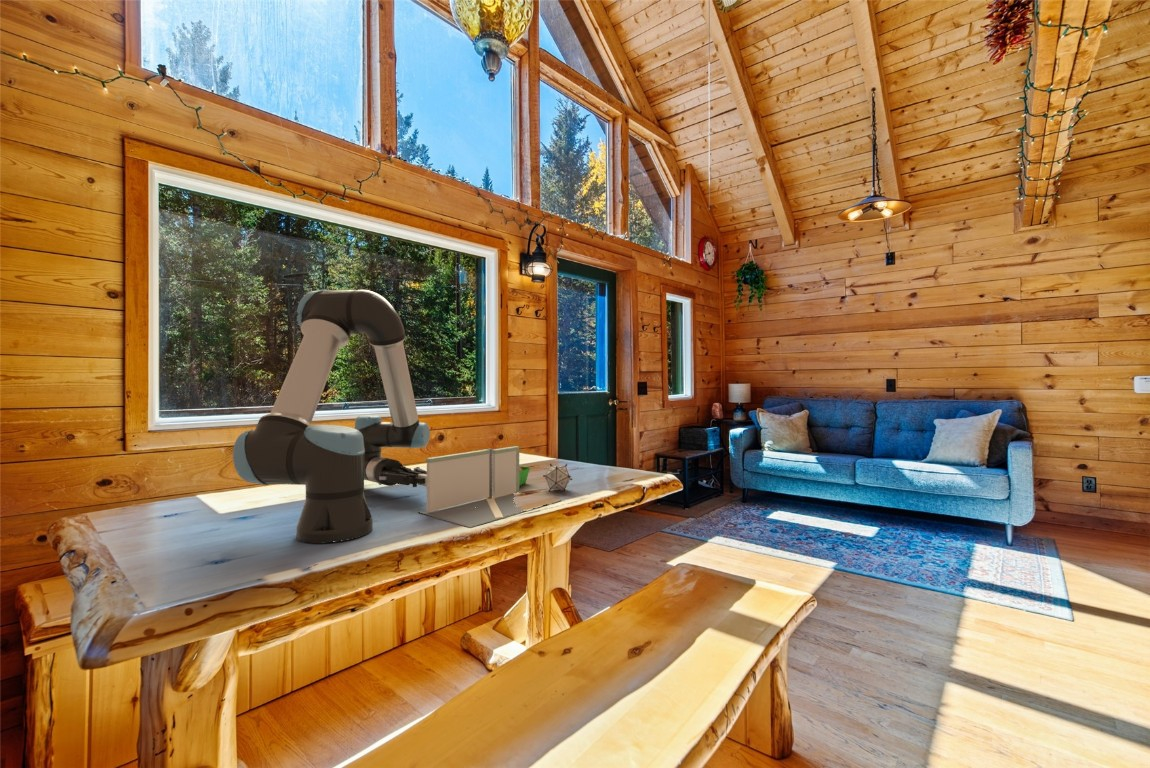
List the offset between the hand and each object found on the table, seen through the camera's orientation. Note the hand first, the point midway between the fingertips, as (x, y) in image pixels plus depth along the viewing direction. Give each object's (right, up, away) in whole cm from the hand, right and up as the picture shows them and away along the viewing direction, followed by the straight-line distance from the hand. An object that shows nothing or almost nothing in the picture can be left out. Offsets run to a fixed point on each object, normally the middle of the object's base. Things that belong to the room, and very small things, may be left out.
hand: (434, 482), depth 135 cm
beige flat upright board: (+7, -6, +1) cm, 9 cm away
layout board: (+15, -7, 0) cm, 17 cm away
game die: (+32, -6, +19) cm, 38 cm away
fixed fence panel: (+17, -6, +14) cm, 23 cm away
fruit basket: (+17, -6, +26) cm, 32 cm away
